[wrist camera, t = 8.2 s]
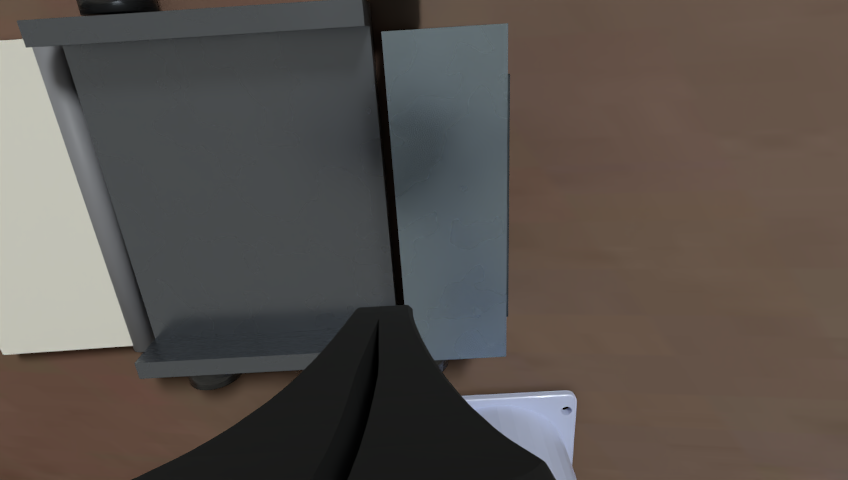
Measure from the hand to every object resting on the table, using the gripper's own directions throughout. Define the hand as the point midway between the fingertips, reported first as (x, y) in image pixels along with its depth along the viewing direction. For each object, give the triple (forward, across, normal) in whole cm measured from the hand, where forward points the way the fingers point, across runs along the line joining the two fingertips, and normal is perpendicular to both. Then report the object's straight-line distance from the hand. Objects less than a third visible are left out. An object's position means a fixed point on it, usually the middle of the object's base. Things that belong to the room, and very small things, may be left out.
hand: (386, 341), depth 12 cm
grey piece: (+10, +4, -1) cm, 11 cm away
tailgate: (+9, +12, -1) cm, 15 cm away
